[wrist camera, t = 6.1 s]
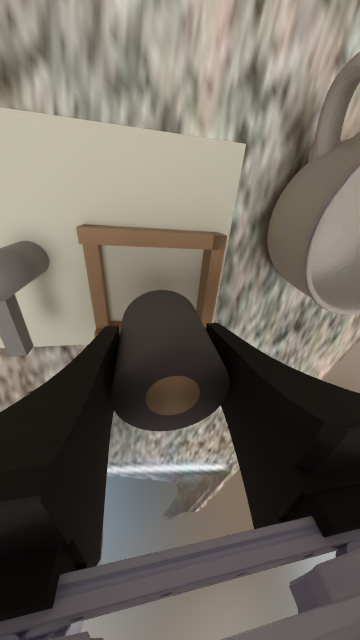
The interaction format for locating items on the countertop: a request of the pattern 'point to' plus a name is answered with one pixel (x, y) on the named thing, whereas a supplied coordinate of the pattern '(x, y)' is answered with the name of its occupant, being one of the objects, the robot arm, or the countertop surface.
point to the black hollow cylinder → (166, 365)
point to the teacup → (324, 210)
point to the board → (106, 224)
